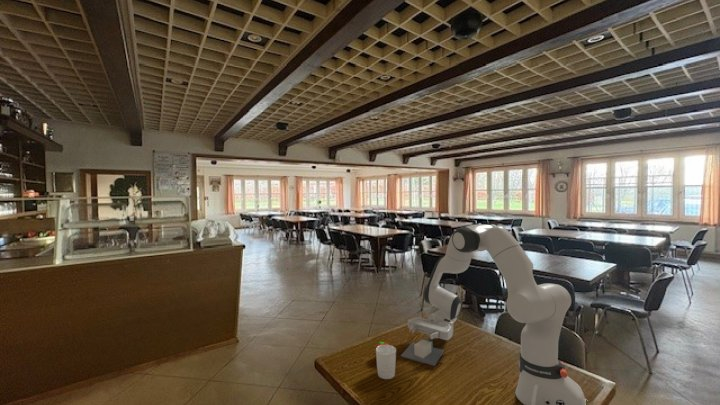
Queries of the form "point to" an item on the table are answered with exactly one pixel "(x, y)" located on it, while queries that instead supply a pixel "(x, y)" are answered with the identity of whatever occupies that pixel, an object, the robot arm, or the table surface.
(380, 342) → the clementine
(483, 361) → the table surface
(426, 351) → the block
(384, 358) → the white cup
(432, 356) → the slate tile
